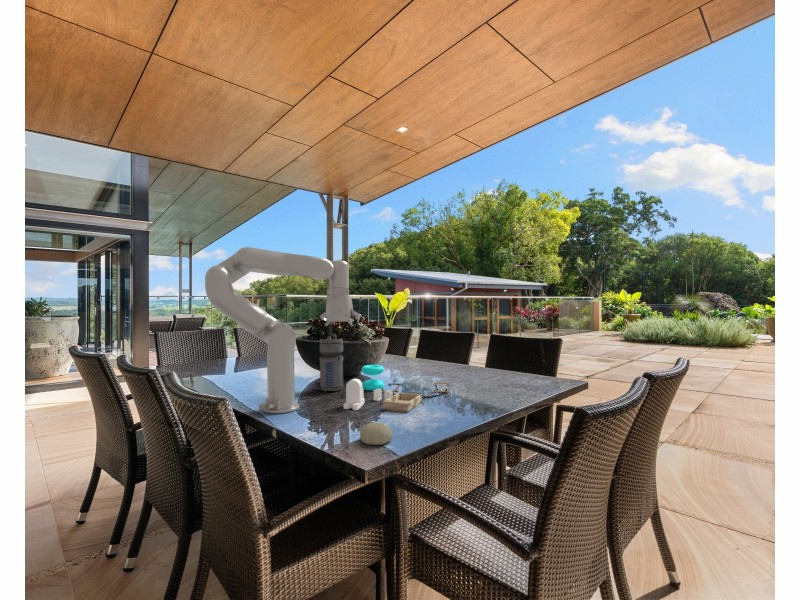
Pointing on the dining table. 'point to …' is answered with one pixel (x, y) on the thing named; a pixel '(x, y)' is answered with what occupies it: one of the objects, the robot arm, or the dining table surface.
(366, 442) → the sea urchin shell
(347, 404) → the cable organizer
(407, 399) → the tan shallow tray
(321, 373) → the beverage bottle
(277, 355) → the robot arm
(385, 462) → the dining table surface
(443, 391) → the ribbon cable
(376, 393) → the cable clips
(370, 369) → the donuts
